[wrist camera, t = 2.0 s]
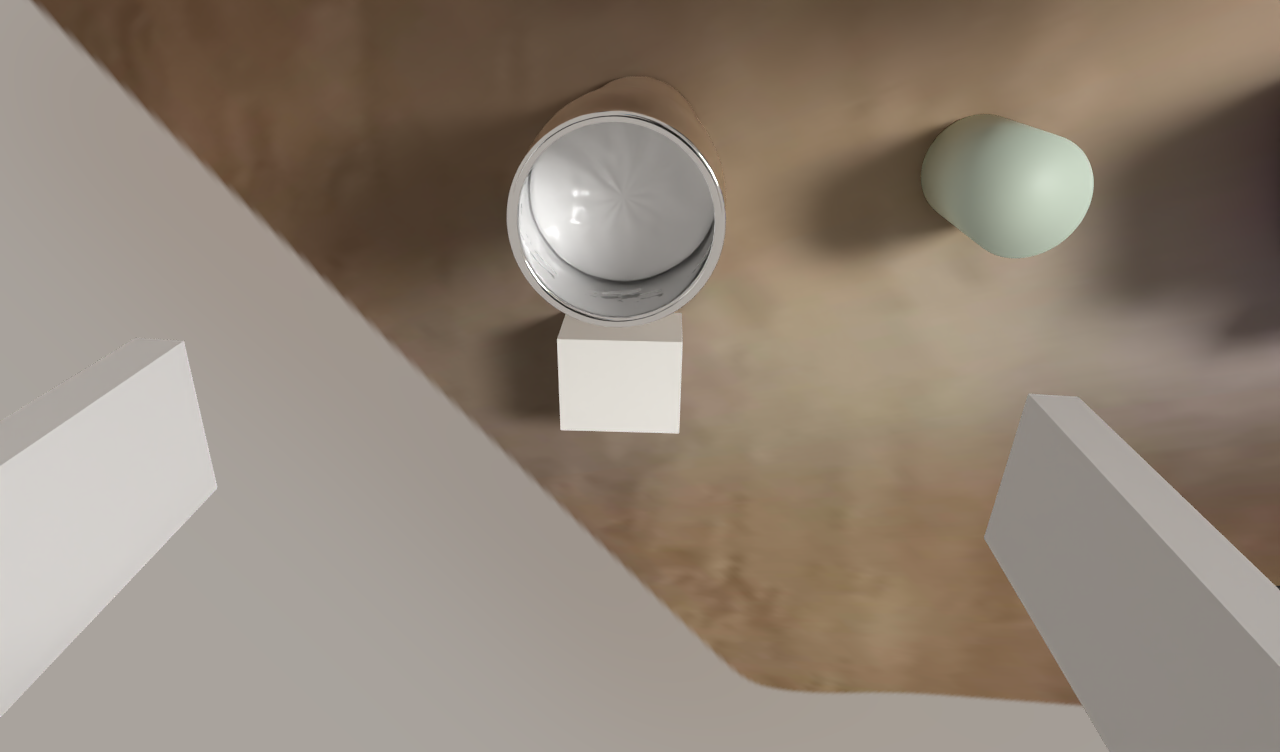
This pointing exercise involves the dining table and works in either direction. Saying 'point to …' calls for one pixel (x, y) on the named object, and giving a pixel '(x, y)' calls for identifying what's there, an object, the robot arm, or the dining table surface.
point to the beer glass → (619, 205)
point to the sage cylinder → (1007, 184)
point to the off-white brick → (620, 376)
